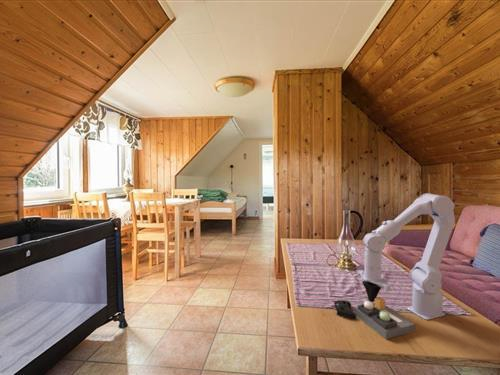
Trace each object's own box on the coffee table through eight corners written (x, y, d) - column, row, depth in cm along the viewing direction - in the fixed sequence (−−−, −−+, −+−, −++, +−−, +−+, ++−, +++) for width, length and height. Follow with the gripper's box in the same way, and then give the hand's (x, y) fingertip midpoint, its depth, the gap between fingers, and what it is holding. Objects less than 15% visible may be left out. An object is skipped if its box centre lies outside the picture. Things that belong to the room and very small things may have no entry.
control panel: (380, 308, 94) (380, 298, 94) (414, 331, 81) (415, 319, 81) (354, 314, 91) (354, 304, 90) (386, 339, 77) (386, 327, 77)
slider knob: (379, 304, 92) (379, 297, 91) (384, 308, 89) (385, 300, 89) (374, 306, 91) (374, 298, 91) (379, 309, 89) (379, 301, 88)
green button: (384, 316, 83) (384, 310, 83) (392, 321, 80) (392, 315, 80) (377, 317, 82) (377, 312, 82) (384, 322, 79) (385, 317, 79)
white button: (368, 305, 90) (368, 300, 90) (375, 309, 87) (375, 304, 87) (362, 306, 89) (362, 301, 89) (368, 311, 86) (368, 306, 86)
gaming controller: (358, 318, 87) (345, 305, 88) (346, 327, 88) (334, 314, 89) (351, 303, 97) (340, 292, 97) (341, 312, 98) (330, 300, 98)
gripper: (350, 260, 98) (350, 293, 99) (379, 275, 84) (378, 313, 85) (365, 258, 100) (364, 290, 101) (395, 272, 87) (394, 309, 88)
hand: (371, 300), depth 94 cm, fingers closed
